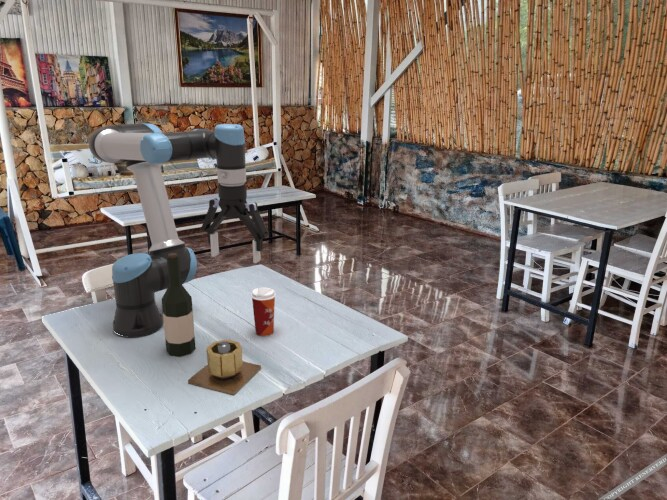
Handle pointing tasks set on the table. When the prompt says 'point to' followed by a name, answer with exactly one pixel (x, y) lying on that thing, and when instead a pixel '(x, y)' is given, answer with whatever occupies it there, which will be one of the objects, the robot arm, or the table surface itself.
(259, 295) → the paper cup
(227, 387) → the doorknob
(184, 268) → the robot arm
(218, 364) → the collar
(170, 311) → the wine bottle
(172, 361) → the table surface
